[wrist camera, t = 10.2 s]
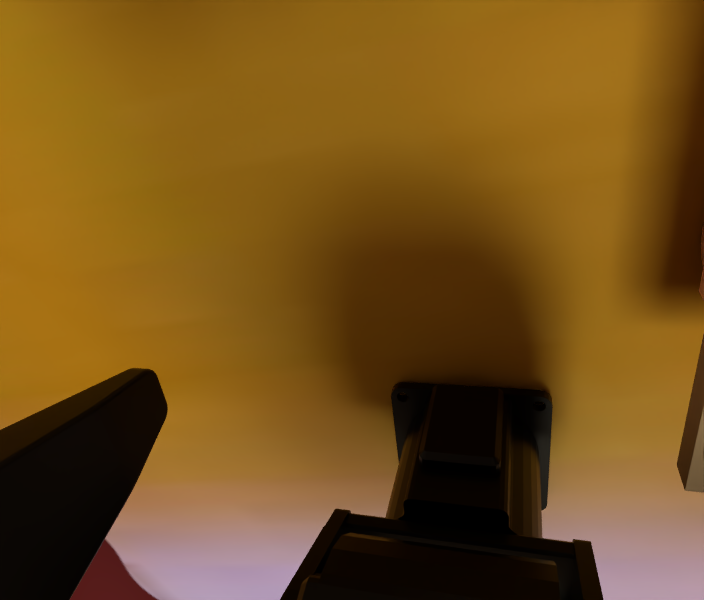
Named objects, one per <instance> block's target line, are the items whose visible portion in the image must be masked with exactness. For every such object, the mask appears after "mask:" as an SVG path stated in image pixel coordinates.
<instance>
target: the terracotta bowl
mask: <svg viewBox="0 0 704 600" xmlns="http://www.w3.org/2000/svg"><path fill="white" fill-rule="evenodd" d="M700 245H701V260H702V265H703V273H702V278H701V283H700V288H699V293H700V294H701V296H702V298H703V300H704V223H703V226H702V234H701V244H700Z"/></svg>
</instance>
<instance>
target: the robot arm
mask: <svg viewBox="0 0 704 600" xmlns="http://www.w3.org/2000/svg"><path fill="white" fill-rule="evenodd" d="M400 393H406V394H407V395H408V396H402V395H401V394H400ZM391 399H392V407H393V416H394V425H395V433H396V442H397V450H398V459H399V466H398V470H397V474H396V478H395V482H394V486H393V490H392V494H391V498H390V502H389V506H388V510H387V513H386V517H385V518H383V517H375V516H367V515H360V514H352V513H351V511H350V510H342V509H335V510H334V512H333V514H332V515H331V517H330V519H329V520H328V522H327V523H326V525H325V526H324V527H323V529H322V530H321V532H320V534H319V535H318V537H317V539H316V540H315V542H314V544H313V545H312V547H311V549H310V550H309V552H308V554H307V555H306V557H305V559H304V560H303V562H302V564H301V565H300V567H299V569H298V570H297V572H296V574H295V575H294V577H293V578H292V580H291V582H290V583H289V585H288V587H287V588H286V590H285V592H284V593H283V595H282V597H281V599H280V600H603V595H602V591H601V586H600V582H599V577H598V572H597V568H596V563H595V559H594V554H593V549H592V545H591V541H583V540H575V539H573V542H567V541H559V540H552V539H544V538H542V515H541V510H544V509H545V508H546V506H547V495H548V478H549V460H550V442H551V424H552V398H551V396H550V395H549V394H548V393H547V392H545V391H541V390H530V389H513V388H496V387H480V386H463V385H445V384H426V383H409V382H400V383H397V384H396V385H395V386H394V387H393V390H392V394H391ZM537 401H540V402H543V403H544V404H542V405H537V404H535V402H537ZM167 409H168V408H167V402H166V399H165V397H164V394H163V391H162V388H161V385H160V383H159V380H158V377H157V375H156V373H155V372H154V371H153V370H150V369H141V368H132V369H128V370H126V371H124V372H122V373H120V374H118V375H115V376H113V377H111V378H109V379H107V380H105V381H103V382H101V383H99V384H96V385H94V386H92V387H90V388H88V389H86V390H84V391H82V392H80V393H77V394H75V395H73V396H71V397H69V398H67V399H65V400H63V401H60V402H58V403H56V404H54V405H52V406H50V407H48V408H46V409H44V410H41V411H39V412H37V413H35V414H33V415H31V416H29V417H27V418H25V419H22V420H20V421H18V422H16V423H14V424H12V425H10V426H8V427H5V428H3V429H1V430H0V600H70V598H71V596H72V594H73V593H74V591H75V589H76V588H77V586H78V584H79V582H80V581H81V579H82V577H83V576H84V574H85V572H86V570H87V569H88V567H89V565H90V563H91V562H92V560H93V558H94V556H95V555H96V553H97V551H98V550H99V548H100V546H101V544H102V542H103V541H104V539H105V537H106V536H107V534H108V532H109V531H110V529H111V527H112V525H113V524H114V522H115V520H116V518H117V517H118V515H119V513H120V511H121V510H122V508H123V506H124V505H125V503H126V501H127V499H128V497H129V496H130V494H131V492H132V490H133V488H134V486H135V484H136V482H137V480H138V478H139V476H140V473H141V471H142V469H143V467H144V465H145V463H146V460H147V458H148V456H149V454H150V452H151V449H152V447H153V445H154V443H155V441H156V438H157V436H158V434H159V432H160V430H161V428H162V425H163V423H164V421H165V419H166V416H167ZM703 457H704V451H703Z"/></svg>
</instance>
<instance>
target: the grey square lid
mask: <svg viewBox="0 0 704 600" xmlns="http://www.w3.org/2000/svg"><path fill="white" fill-rule="evenodd" d="M703 451H704V335H703V340H702V345H701V350H700V354H699V359H698V364H697V369H696V374H695V379H694V383H693V388H692V393H691V398H690V403H689V408H688V413H687V417H686V422H685V427H684V432H683V437H682V442H681V446H680V451H679V456H678V461H677V467H678V470H679V473H680V476H681V480H682V483H683V486H684V489H685V491H694V492H704V457H703Z"/></svg>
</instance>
